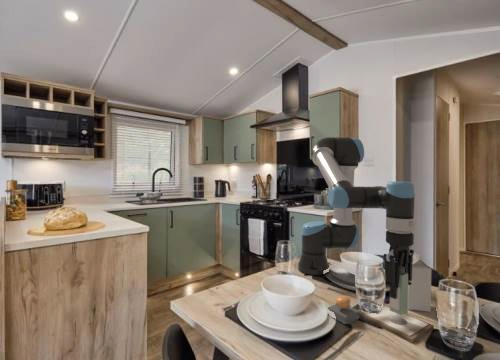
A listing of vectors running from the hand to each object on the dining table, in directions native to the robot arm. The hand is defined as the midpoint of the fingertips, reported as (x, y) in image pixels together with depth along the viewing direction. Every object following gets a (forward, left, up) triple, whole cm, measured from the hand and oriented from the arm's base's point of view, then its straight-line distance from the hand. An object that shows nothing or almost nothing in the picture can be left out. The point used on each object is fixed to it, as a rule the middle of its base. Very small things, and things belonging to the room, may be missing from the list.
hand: (398, 306), depth 82 cm
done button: (-12, -11, -2) cm, 16 cm away
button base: (-12, -11, -6) cm, 17 cm away
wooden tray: (-2, +1, -6) cm, 6 cm away
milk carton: (-3, +17, -6) cm, 18 cm away
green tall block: (0, 0, -2) cm, 2 cm away
